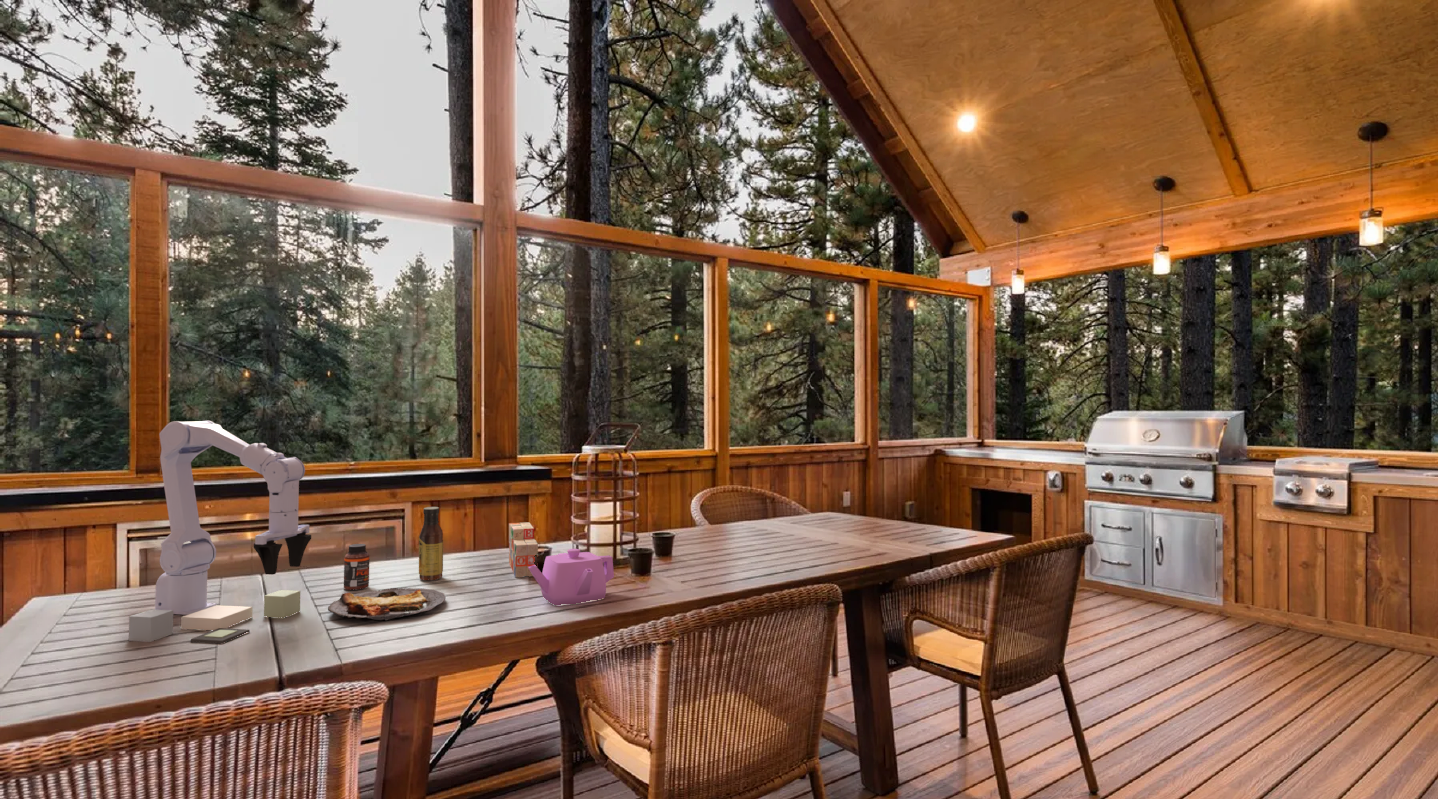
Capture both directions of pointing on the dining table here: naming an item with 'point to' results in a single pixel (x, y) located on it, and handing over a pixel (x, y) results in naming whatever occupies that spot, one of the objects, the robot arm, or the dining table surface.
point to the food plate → (386, 603)
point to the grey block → (150, 625)
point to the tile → (219, 635)
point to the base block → (216, 617)
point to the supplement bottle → (356, 568)
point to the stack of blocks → (522, 548)
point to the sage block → (281, 603)
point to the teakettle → (574, 577)
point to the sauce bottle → (431, 546)
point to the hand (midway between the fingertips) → (282, 570)
